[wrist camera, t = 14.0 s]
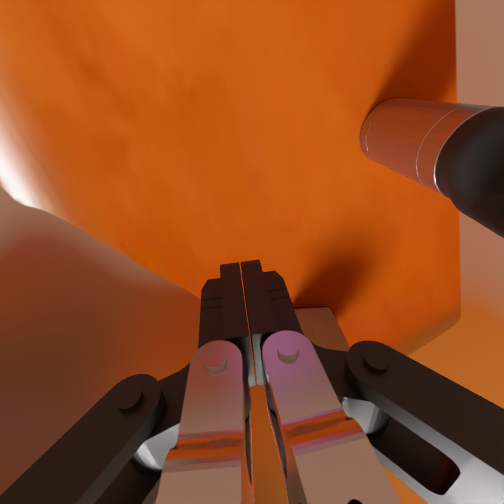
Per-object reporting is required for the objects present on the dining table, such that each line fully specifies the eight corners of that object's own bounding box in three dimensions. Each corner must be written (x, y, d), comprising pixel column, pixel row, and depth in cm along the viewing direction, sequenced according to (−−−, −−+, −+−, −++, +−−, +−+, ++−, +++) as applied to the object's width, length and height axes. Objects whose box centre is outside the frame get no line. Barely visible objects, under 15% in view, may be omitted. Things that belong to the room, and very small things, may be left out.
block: (282, 338, 65) (306, 427, 49) (286, 307, 60) (315, 394, 43) (322, 335, 67) (359, 421, 50) (330, 304, 61) (374, 389, 45)
